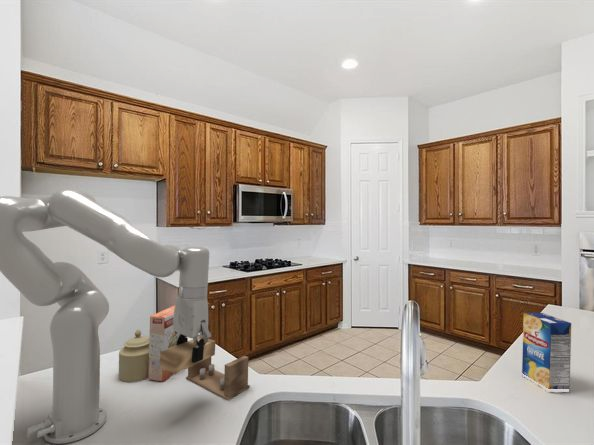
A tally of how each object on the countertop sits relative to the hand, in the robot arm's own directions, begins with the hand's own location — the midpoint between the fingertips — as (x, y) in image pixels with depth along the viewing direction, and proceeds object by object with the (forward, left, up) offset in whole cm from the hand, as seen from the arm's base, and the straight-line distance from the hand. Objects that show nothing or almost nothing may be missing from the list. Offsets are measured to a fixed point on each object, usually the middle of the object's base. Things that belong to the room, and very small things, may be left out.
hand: (189, 356), depth 86 cm
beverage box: (+80, -81, -15) cm, 114 cm away
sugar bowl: (+3, +31, -15) cm, 35 cm away
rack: (+14, +4, -14) cm, 20 cm away
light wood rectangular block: (0, 0, -1) cm, 1 cm away
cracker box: (+9, +23, -15) cm, 29 cm away
